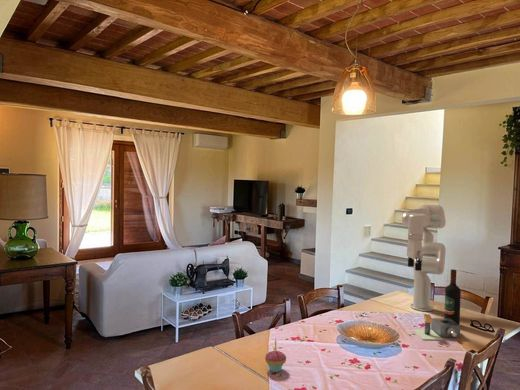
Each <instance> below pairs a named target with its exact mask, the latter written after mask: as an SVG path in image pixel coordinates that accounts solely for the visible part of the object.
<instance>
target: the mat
mask: <svg viewBox="0 0 520 390" xmlns="http://www.w3.org/2000/svg"><path fill="white" fill-rule="evenodd" d="M412 331H413V332H414V334H416V335H417V337H419V338H420V339H421V340H422V341H444V339H443V337H440V336H439V335H437V334H436V333H435V332H434V331H433V330H431V329H430V335H425V329H412Z"/></svg>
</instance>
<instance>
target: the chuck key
mask: <svg viewBox="0 0 520 390" xmlns="http://www.w3.org/2000/svg"><path fill="white" fill-rule="evenodd" d="M431 316H432V315H431V314H428V313H423V319H424V330H425V335H430V330H431V323H432V318H433V317H431Z"/></svg>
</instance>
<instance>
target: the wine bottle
mask: <svg viewBox="0 0 520 390" xmlns="http://www.w3.org/2000/svg"><path fill="white" fill-rule="evenodd" d="M457 272H458V271H457V269H450V277H449V278H450V279H449V280H450V282H449V284H448V285H447V286H446V287H445V289H444V313H443V314H444V316H443V318H448V319H452V320H453V321H455V322H456V323H457V324H459V325H460V326H461V324H460V323H461V322H460V321H461V297H462V294H461V291H462V290H461V288H460V287H459V286H458V285H457Z"/></svg>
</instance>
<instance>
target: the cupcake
mask: <svg viewBox="0 0 520 390" xmlns="http://www.w3.org/2000/svg"><path fill="white" fill-rule="evenodd" d="M274 339H275V340H274V350H271V351H268V353H266V354H265V358H264V359H265V363H267V366H268V369H269V371H270V372H273V373H278V372H281V370H282V368H283V365H284V364H286V361H287V356H286V354H285V353H284V352H282V351H280V350H277V337H275V338H274Z"/></svg>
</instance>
